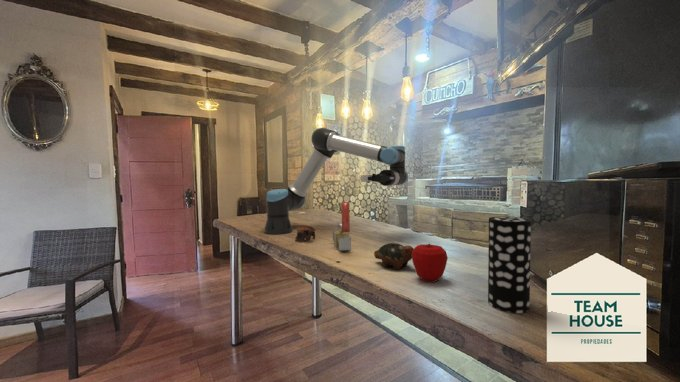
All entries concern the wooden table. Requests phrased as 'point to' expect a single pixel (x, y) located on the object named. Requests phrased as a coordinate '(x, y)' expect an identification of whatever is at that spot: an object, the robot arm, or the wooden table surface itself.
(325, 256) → the wooden table surface
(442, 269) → the apple
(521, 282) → the spotted tube
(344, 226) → the lever
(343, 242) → the pipe valve
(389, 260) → the decorative turtle
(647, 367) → the wooden table surface
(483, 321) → the wooden table surface
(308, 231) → the brown animal figurine
